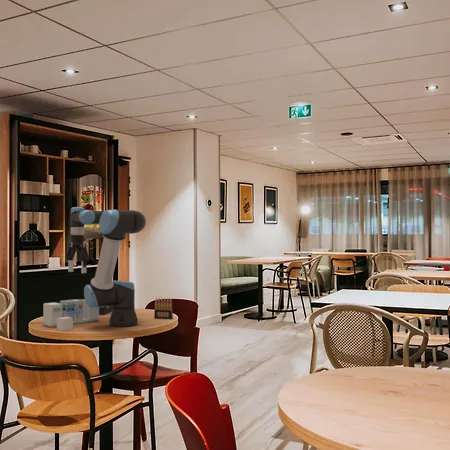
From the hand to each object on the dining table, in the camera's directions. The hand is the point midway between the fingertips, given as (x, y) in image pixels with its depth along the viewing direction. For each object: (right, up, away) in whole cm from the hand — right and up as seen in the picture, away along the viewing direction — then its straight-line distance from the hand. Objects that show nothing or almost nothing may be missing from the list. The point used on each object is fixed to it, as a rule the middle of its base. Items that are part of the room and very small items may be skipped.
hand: (77, 272), depth 289 cm
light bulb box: (0, -25, -11) cm, 27 cm away
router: (+8, -28, +27) cm, 39 cm away
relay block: (+2, -26, -30) cm, 40 cm away
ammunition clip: (+48, -27, +3) cm, 55 cm away
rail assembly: (0, -27, -11) cm, 29 cm away
